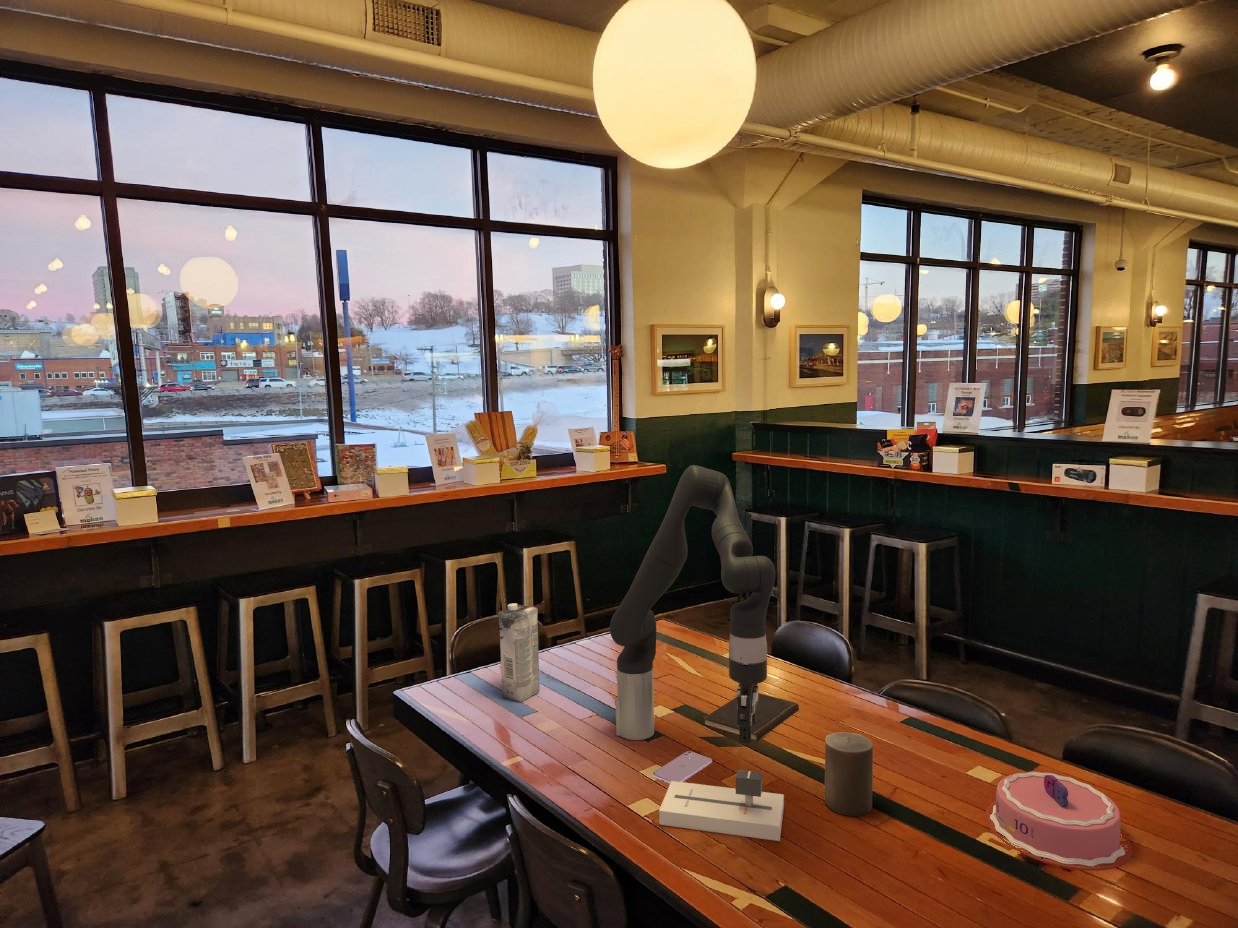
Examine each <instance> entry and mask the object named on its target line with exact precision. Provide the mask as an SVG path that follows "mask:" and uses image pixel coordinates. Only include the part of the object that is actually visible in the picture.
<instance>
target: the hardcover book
mask: <svg viewBox="0 0 1238 928" xmlns="http://www.w3.org/2000/svg"><path fill="white" fill-rule="evenodd" d="M799 709H800V705H799V704H798V703H797V702H795V701H794V702H793V701H790V700H786V699H783V698H779V697H775V696H771V695H767V694H763V693H761V692H758V701H757V705H756V722H755V724H754V725H752V724H751V740H754V741H757V742H758V741H759V740H760V739H762V738H763V737H765V735H767V734H768V733H770V732H771V731H773V730H774V729H775V728H777V727H778V726H779V725H780V724H781V723H783V722H784V721H786V720H787V719H789V718H790V717H791V716H792V715H793V714H796V712H798V711H800V710H799ZM742 718H743V719H745V714H742ZM703 720H704V725H706V726H710V727H712V728H715V729H719V730H722V731H726V732H728V733H733V734H735V735H738V736H739V725H737V696H736V697H734V698H733V699H731V700H730V701H728V702H726V703H724V704H723V705H721V706H720V707H717V709H715V710H713V711H712V712H711V713H709V714H707V715H706V716H704V717H703Z"/></svg>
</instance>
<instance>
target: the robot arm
mask: <svg viewBox="0 0 1238 928" xmlns="http://www.w3.org/2000/svg"><path fill="white" fill-rule="evenodd" d="M681 474H682V475H681V477H680V478H679V481H678V482H677V485H676V487H675V490H674V492H673V496H672V498H671V501H670V503H669V505H668V509H667V511H666V514H665V516H664V517H663V521H662V522H661V524H660V527H659V528H658V530H657V532H656V534H655V536H654V538H653V540H652V542H651V544H650V546H649V548H648V550H647V552H646V554H645V556H644V558H643V560H642V563H641V565H640V567H639V569H638V571H637V573H636V574H635V577H634V579H633V581H632V584H631V585H630V588H629V589H628V591H627V593H626V595H625V596H624V598H623V599H622V601H621V602H620V604H619V606H618V607H617V609H616V610H615V612H614V613H613V614H612V617H611V620H610V621H609V633H610V636H611V639H612V640H613V642H614V643H615V644H617V645H619V646H621V647H623V648H622V650H621V652H620V653H619V655H618V656H617V659H616V675H617V676H616V678H617V679H616V681H617V683H616V685H617V696H616V698H615V700H614V701H615V732H616V733H615V735H616V736H618V737H621V738H623V739H626V740H631V741H642V740H646V739H649V738H651V737H652V736H653V735H654V734H655V705H654V704H655V703H654V701H655V700H654V699H655V698H654V695H655V693H654V661H655V658H656V653H657V622H656V616H655V614H654V612H653V610H652V608H653V607H654V605H655V604H656V602H657V601H658V600H660V598H661V597H662V596H663V595H664V594H665V593H666V592H667V590H669V588H671V586H672V585H673V584H674V582H675V581H676V579H677V578H678V576H679V574H680V572H681V571H682V569H683V566H684V564H685V563H686V560H687V558H688V542H687V541H688V540H687V535H686V531H685V520H686V517H687V514H688V512H689V510H690V508H691V507H692V506H693V507H695V508H696V507H697V508H700V509H704V510H710V511H712V512H714V514H715V515H716V518H715V519H714V521H713V523H712V526H711V538H712V541H713V544H714V546H715V548H716V550H717V553H718V555H719V558H720V567H721V570H720V574H721V575H720V577H721V582H722V583H721V584H722V586H723V587H724V589H726V590H727V591H728V592H729V593H732V594H743V593H747V594H748V593H751V594H750V596H749V597H748V598H747V599H744V600H742V601H739V602H736V603H734V604H733V605H732V606H731V607H730V612H729V619H730V620H729V621H730V622H729V625H730V626H729V627H730V629H729V630H730V631H729V640H728V676H729V678H730V679H731V680H732V682H733V681H734V682H735V683H738V688H736V697H737V725H739V735H738V736H739V740H738V741H739V742H740V743H741V744H751V742H752V739H751V724H752V725H754V724H755V722H756V705H757V701H758V693H759V691H760V690H759V688H760V686H759V685H758V684H761V683H763V682H765V681H766V680H767V678H768V643H767V632H766V629H767V612H768V607H769V603H770V599H771V595H772V593H773V590H774V589H773V588H774V585H775V582H776V569H775V565H774V563H773V562H772V560H771V559H770V558H769V557H768V556H765V555H754V556H753V554H754V546H753V544H752V541H751V539H750V538H749V535H748V533H747V531H746V530H745V527H744V526H743V524H742V522H741V520H740V517H739V514H738V508H737V504H736V500H735V497H734V493H733V488H732V486H731V485H732V484H731V482H730V480H729V478H728V476H727V475H726V474H724V473H723V472H720V471H717V470H713V469H712V468H710V469H709V468H707V467H703V466H700V465H696V464H692V465H689V466H688V467H686V469H685V470H684V471H683V473H681ZM742 714H745V719H743V718H742Z"/></svg>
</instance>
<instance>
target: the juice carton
mask: <svg viewBox="0 0 1238 928" xmlns="http://www.w3.org/2000/svg"><path fill="white" fill-rule="evenodd" d="M538 611H539V609H538V607H535V606H529V605H523V604H518V603H516V602H515V603H513V602H512V603H509V604H507V609H505V610H500V611H498V613H497V614H498V620H499V622H498V623H499V641H500V642H499V647H500V648H499V649H500V669H501V689H502V690H501V693H502V697H503V698H504V699H508V700H513V701H516V702H520V703H521V702H524V701H525V700H527V699H529V698H530V697H532V696H535V695H536V694H538V693H540V689H541V687H540V686H541V685H540V684H541V683H540V661H539V632H538Z"/></svg>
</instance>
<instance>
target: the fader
mask: <svg viewBox="0 0 1238 928" xmlns="http://www.w3.org/2000/svg"><path fill="white" fill-rule="evenodd" d="M735 789H736V794H741V795H745V805H746V806H749V807H751V806H753V796H757V797H761V793H762V792H763V772H762V771H761V772H759V771H753V770H752V771H751V770H745V769H744V770H743V769H737V770H736V774H735Z"/></svg>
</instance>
